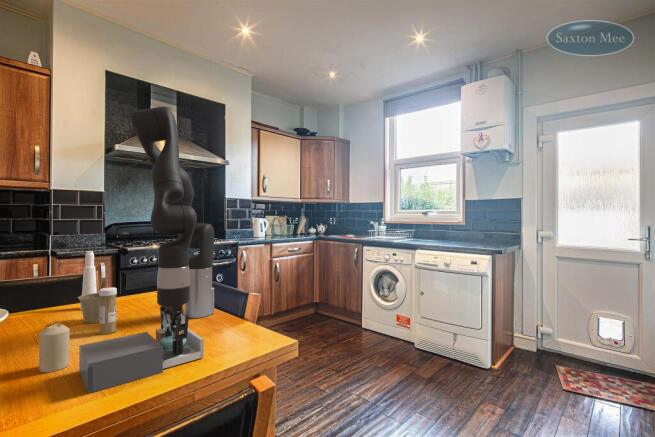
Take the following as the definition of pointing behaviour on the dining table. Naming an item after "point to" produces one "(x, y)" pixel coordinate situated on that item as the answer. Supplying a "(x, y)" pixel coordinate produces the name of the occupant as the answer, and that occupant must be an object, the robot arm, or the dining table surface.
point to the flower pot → (90, 307)
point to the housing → (119, 361)
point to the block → (159, 334)
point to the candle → (54, 348)
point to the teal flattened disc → (169, 343)
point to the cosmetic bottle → (89, 275)
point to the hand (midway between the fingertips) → (173, 350)
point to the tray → (185, 351)
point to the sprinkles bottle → (107, 310)
